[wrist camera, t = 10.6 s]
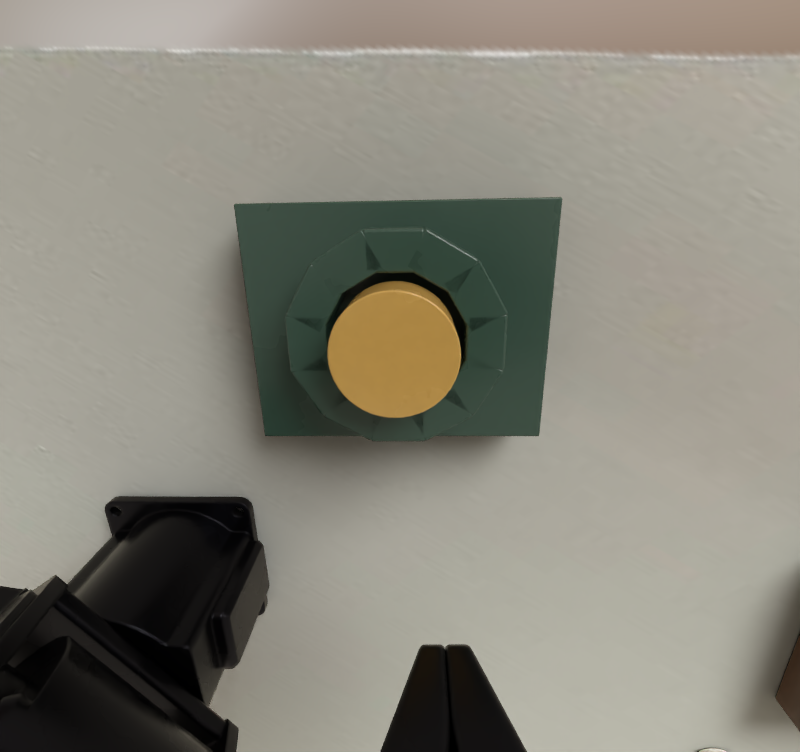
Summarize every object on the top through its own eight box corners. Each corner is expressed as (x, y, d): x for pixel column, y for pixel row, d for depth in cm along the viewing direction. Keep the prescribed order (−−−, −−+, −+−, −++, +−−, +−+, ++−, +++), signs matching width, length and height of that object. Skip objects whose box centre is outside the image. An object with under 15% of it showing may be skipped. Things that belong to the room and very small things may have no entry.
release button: (341, 395, 14) (331, 418, 13) (333, 281, 13) (321, 291, 11) (454, 394, 14) (459, 418, 13) (457, 279, 13) (463, 289, 11)
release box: (281, 411, 19) (247, 461, 15) (257, 205, 16) (207, 202, 12) (525, 411, 18) (553, 462, 14) (543, 199, 15) (584, 194, 12)
